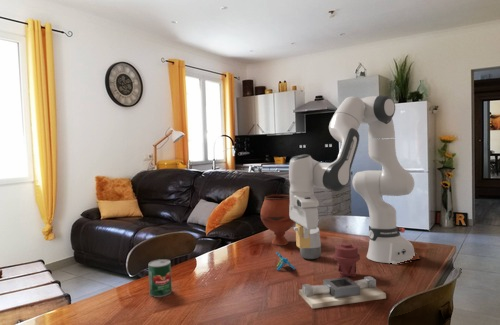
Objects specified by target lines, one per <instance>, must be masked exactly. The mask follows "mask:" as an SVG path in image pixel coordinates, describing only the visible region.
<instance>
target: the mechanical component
mask: <svg viewBox="0 0 500 325" xmlns="http://www.w3.org/2000/svg"><path fill="white" fill-rule="evenodd" d="M358 251H359V249H358V246H357V245H355V244H353V243H352V244H351V243H350V242H342V243H340V244H337V245H335V252H334V253H333V259H334V260H335V261H337V272H338V273H339V278H342V277H348V278H350V277H352V278H355V277H356V275H357V262H359V261H360V260H361V255H360V254H359V252H358Z"/></svg>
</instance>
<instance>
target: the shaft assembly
mask: <svg viewBox="0 0 500 325" xmlns="http://www.w3.org/2000/svg"><path fill="white" fill-rule="evenodd" d="M322 281H323V282H322V284H320V285H319V284H316V285H315V284H314V285H311V284H310V283H305V284H302V285H301V286H302V287H301V288H302V293H303V294H304V295H305V296H306V297H310V296H313V294H321V293H329V294H330V295H331V296H333V297H334V298H335V299H336V298H344V297H351V296H358V295H360V288H365V287H368V288H377V279H375V277H372V276H371V275H370V276H369V275H368V276H364V277H363V279H358V280H354V281H353V280H352V279H351V278H350V277H333V278H327V279H326V278H325V279H323V280H322Z"/></svg>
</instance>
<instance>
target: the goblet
mask: <svg viewBox="0 0 500 325" xmlns="http://www.w3.org/2000/svg"><path fill="white" fill-rule="evenodd" d="M263 200H264V201H263V202H262V205H261V208H260V220H261V222H262V224H263V226H265V227H266V228H267V229H268V230H270V231H272V232H273V233H274V235H275V237H274V238H273V239H272V241H271V244H272V245H275V246H285V245H288V244H289V241H288V239H286V237H285V234H286V232H287V231H289V230H290V229H291V228H292V227H294V225H295V224H296V222H295V221H293V220H291V219H290V216H289V206H290V194H270V195H266V196H265V195H264V199H263Z"/></svg>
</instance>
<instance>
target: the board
mask: <svg viewBox="0 0 500 325" xmlns="http://www.w3.org/2000/svg"><path fill="white" fill-rule="evenodd" d="M298 294H299V296H300V297H301V298H302V299H303V300H304V301H305V303H306V304H307V305H308V306H309V307H311V309H314V310H315V309H319V308H326V307H333V306H341V305H348V304H355V303H362V302H369V301H376V300H383V299H387V293H386V292H384V291H383V290H382V289H379V288H378V287H376V288H368V287H365V288H360V295H358V296H351V297H344V298H336V299H335V298H334V297H333V296H331V295H330V294H329V293H321V294H313V296H310V297H306V296H305V295H304V294H303V293H302V289H301V288H300V289H298Z"/></svg>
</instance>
